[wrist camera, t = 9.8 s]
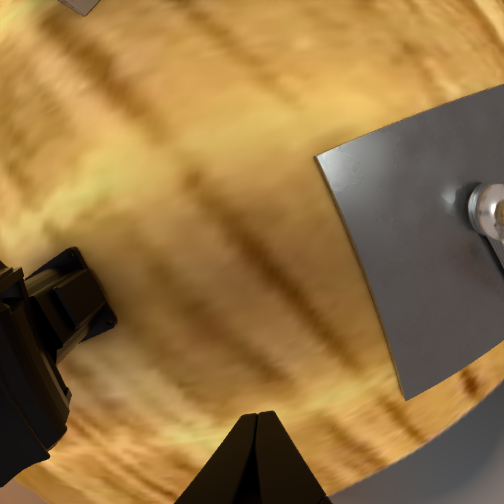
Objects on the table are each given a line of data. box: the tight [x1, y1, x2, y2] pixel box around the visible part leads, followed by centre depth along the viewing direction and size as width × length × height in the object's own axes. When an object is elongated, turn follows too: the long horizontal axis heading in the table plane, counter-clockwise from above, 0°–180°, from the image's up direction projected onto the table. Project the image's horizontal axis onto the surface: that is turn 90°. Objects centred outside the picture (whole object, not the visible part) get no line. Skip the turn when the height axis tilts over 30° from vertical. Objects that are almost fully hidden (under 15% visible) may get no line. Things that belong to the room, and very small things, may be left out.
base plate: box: [314, 84, 504, 401], centre depth 19 cm, size 18×20×1 cm
